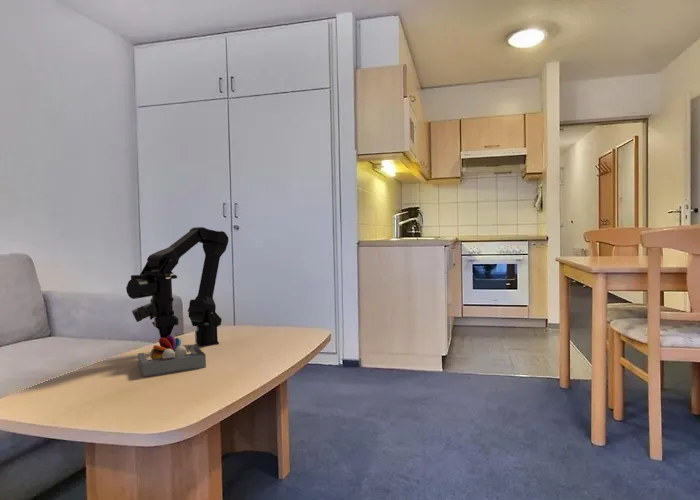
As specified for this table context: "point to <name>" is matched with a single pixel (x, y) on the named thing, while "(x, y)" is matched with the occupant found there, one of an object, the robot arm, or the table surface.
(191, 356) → the tray
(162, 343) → the multicolored petal rattle
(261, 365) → the table surface
